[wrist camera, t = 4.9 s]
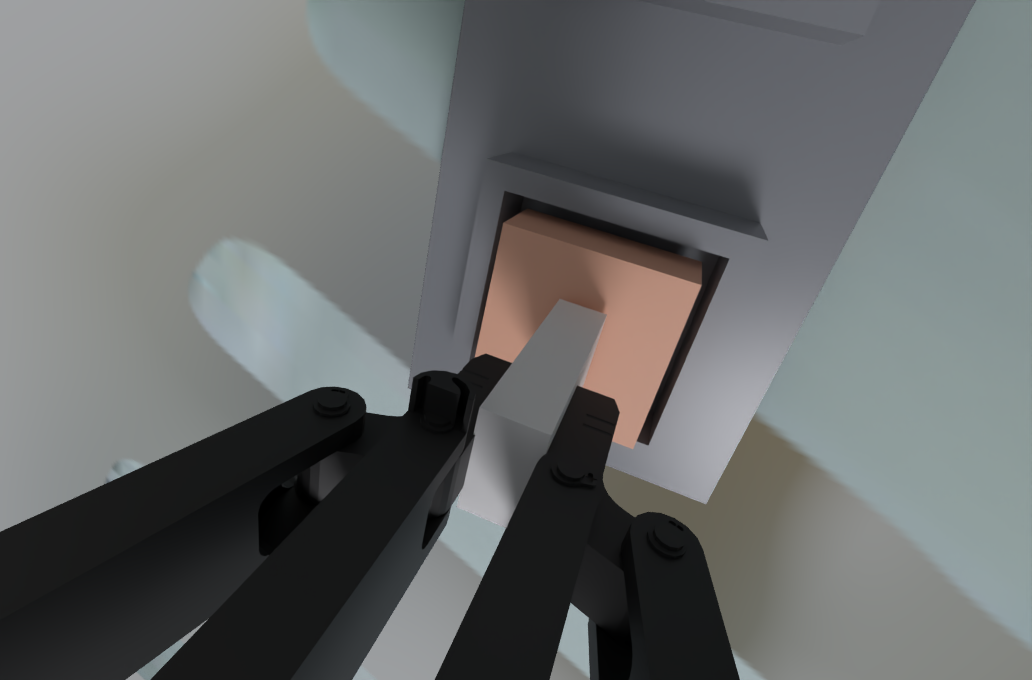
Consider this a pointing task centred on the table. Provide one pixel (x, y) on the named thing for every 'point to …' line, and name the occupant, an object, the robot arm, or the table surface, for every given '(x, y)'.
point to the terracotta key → (593, 304)
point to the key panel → (678, 173)
